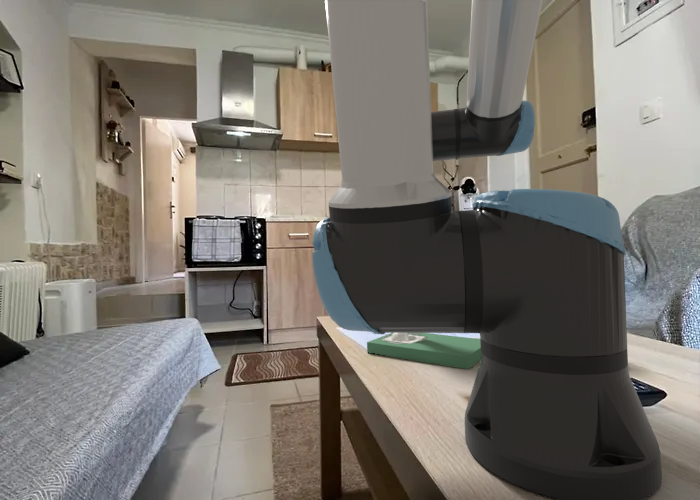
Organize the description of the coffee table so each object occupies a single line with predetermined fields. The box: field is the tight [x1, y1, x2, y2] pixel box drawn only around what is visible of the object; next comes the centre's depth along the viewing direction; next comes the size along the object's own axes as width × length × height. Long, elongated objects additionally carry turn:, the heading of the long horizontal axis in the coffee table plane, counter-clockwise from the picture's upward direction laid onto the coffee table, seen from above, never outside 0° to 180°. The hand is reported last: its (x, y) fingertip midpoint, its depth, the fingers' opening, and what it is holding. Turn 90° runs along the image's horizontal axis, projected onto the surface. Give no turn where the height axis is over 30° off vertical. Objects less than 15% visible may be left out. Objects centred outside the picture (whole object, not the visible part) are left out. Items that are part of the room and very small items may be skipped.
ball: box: [391, 333, 409, 341], centre depth 70 cm, size 4×4×4 cm
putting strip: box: [366, 333, 481, 370], centre depth 67 cm, size 12×19×2 cm, turn 53°
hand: (417, 332), depth 68 cm, fingers closed
